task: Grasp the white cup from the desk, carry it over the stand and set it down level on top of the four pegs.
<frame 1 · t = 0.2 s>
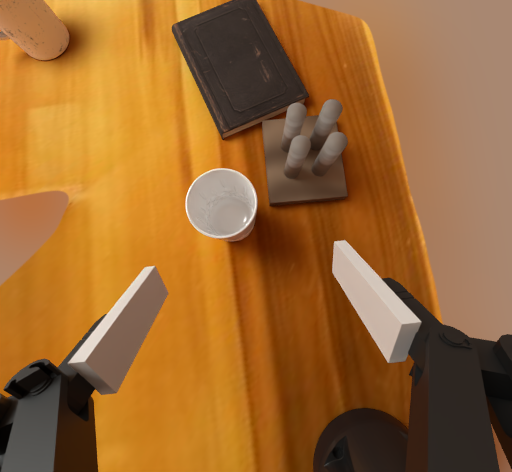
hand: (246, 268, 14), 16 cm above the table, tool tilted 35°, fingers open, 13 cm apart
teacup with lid: (42, 46, 35), on the table
hardcover book: (238, 73, 34), on the table
white cup: (234, 221, 30), on the table
peg stand: (301, 162, 31), on the table
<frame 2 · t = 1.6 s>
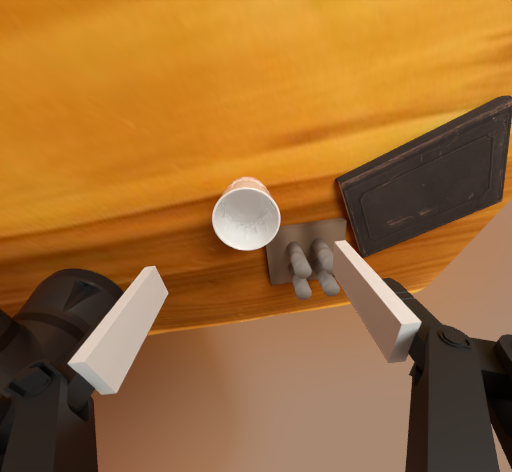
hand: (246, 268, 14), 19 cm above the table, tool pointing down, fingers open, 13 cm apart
hardcover book: (412, 187, 31), on the table
white cup: (246, 197, 31), on the table
peg stand: (303, 251, 36), on the table
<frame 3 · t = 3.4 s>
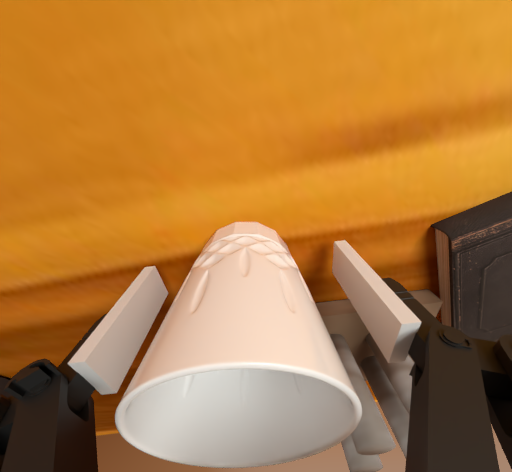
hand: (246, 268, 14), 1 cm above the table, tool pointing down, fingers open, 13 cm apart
white cup: (246, 257, 15), on the table
peg stand: (346, 338, 20), on the table
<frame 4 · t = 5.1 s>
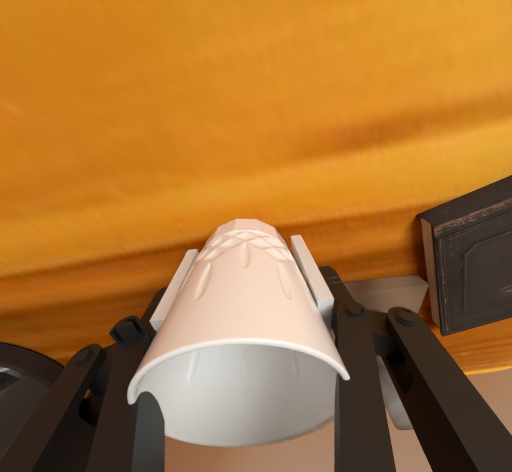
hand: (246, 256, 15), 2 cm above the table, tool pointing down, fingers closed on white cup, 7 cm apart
white cup: (246, 253, 16), point 1 cm above the table, touching gripper
peg stand: (342, 320, 22), on the table
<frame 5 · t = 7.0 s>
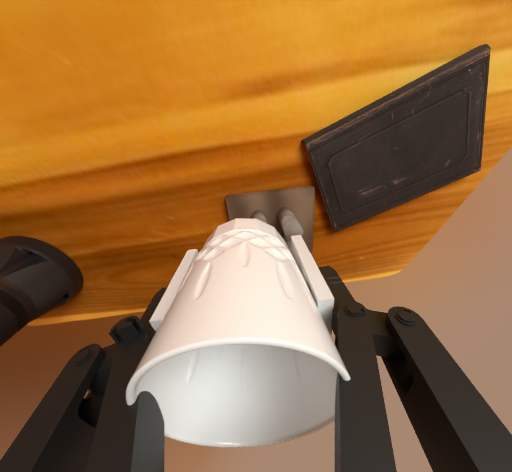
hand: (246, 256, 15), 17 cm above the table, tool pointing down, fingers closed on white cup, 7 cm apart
hardcover book: (386, 154, 29), on the table
white cup: (245, 253, 16), point 17 cm above the table, touching gripper
peg stand: (271, 224, 33), on the table
when the fingers open (10 cm above the table, at t = 9.3 s): white cup moves 1 cm, resting on peg stand.
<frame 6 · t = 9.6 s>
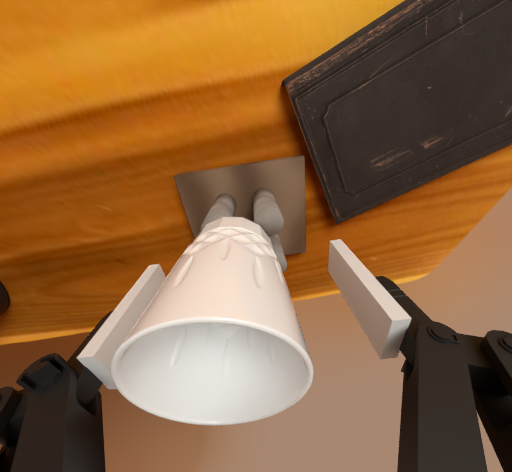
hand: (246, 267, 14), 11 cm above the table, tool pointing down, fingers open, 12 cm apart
hardcover book: (410, 105, 20), on the table
white cup: (234, 250, 17), point 8 cm above the table, touching peg stand
peg stand: (247, 214, 24), on the table
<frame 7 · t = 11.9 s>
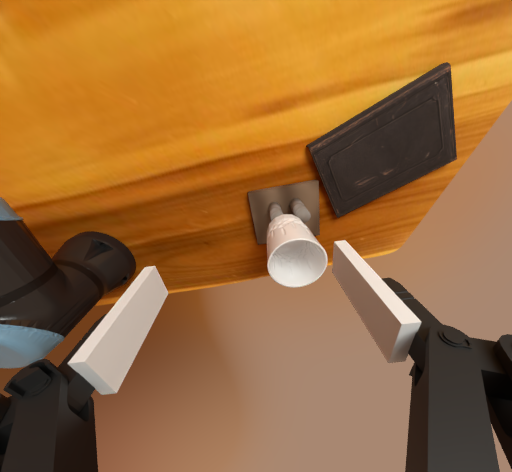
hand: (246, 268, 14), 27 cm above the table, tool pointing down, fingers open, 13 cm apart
hardcover book: (376, 151, 36), on the table
white cup: (285, 230, 34), point 8 cm above the table, touching peg stand
peg stand: (284, 213, 41), on the table
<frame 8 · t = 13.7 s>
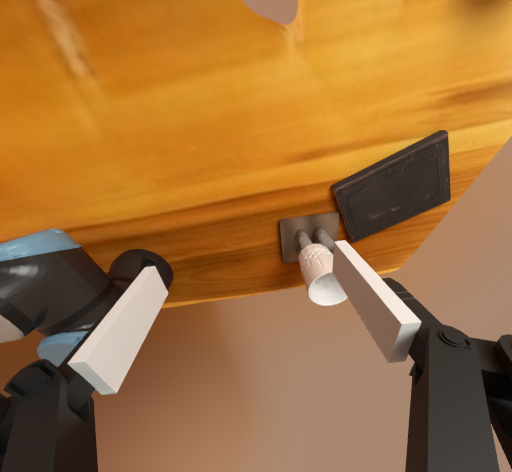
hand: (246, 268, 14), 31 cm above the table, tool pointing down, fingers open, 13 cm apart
hardcover book: (386, 191, 44), on the table
white cup: (313, 256, 41), point 8 cm above the table, touching peg stand
peg stand: (307, 237, 48), on the table
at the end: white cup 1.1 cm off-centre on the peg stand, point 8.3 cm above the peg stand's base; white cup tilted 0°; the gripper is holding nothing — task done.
